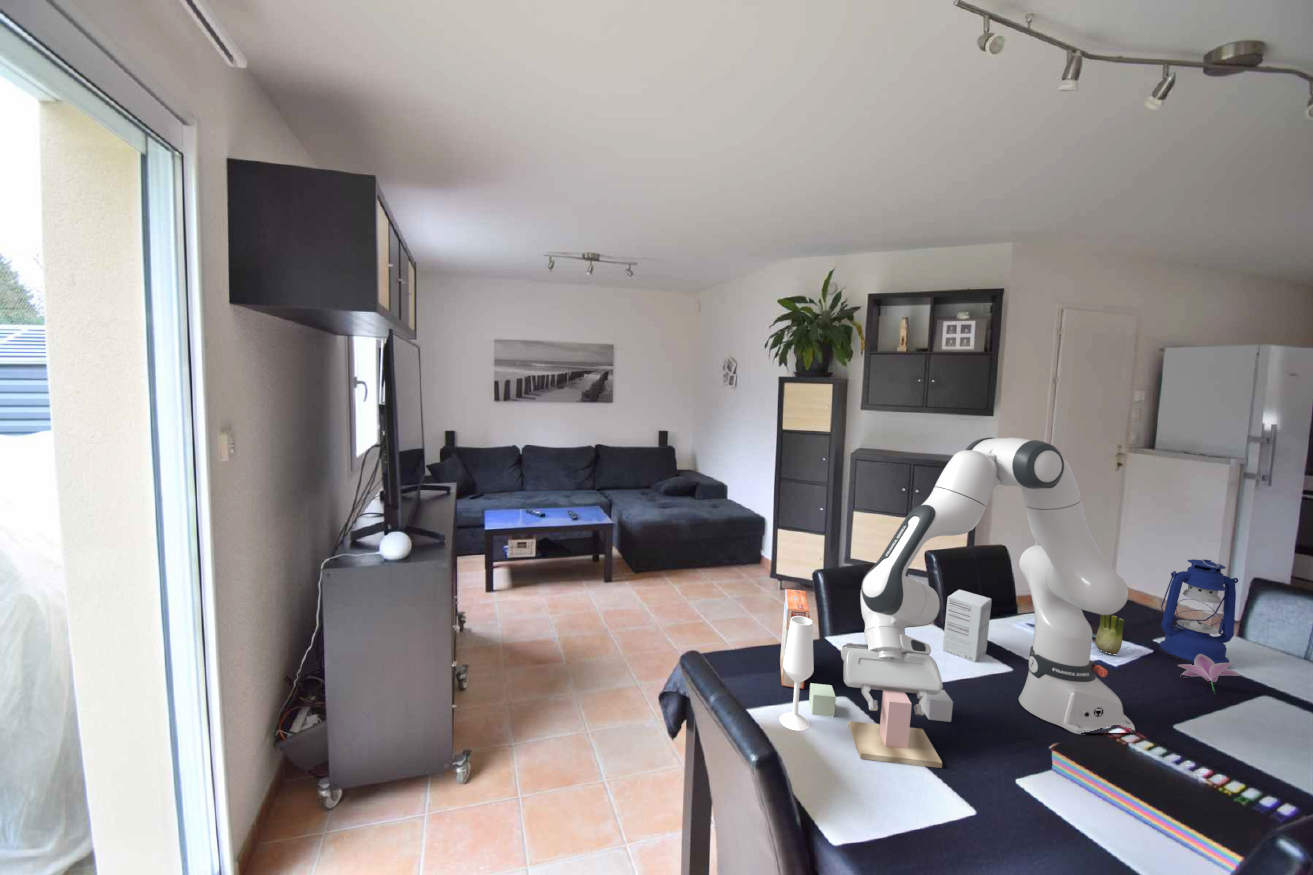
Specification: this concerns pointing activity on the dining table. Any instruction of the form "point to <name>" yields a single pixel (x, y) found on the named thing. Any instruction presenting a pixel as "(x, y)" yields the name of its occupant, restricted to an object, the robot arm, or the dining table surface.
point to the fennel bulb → (1109, 634)
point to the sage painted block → (822, 700)
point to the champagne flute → (798, 666)
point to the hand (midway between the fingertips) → (896, 712)
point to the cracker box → (792, 607)
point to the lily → (1207, 669)
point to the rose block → (895, 719)
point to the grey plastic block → (938, 707)
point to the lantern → (1205, 588)
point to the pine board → (875, 748)
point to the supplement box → (967, 624)
